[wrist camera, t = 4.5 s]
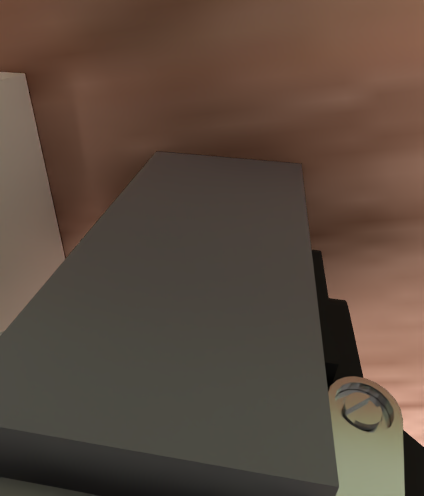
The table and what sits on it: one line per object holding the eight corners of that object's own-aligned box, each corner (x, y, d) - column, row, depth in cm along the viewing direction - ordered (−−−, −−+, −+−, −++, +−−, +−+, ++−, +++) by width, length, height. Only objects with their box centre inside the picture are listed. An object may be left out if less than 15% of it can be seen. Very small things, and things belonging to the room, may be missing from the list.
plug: (156, 151, 12) (-68, 415, 4) (301, 163, 11) (339, 486, 4) (165, 332, 16) (61, 623, 8) (270, 347, 15) (259, 669, 8)
